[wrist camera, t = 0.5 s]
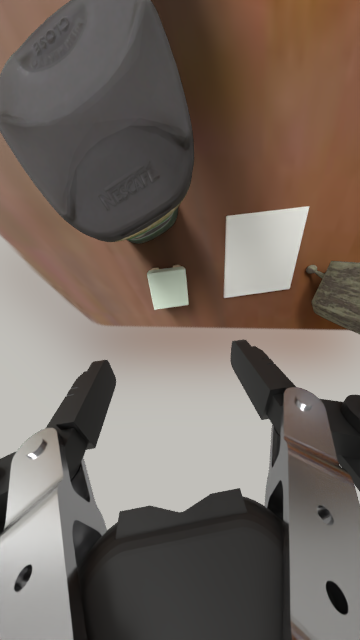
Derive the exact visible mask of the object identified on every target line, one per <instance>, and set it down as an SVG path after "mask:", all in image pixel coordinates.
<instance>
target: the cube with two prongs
mask: <svg viewBox="0 0 360 640" xmlns="http://www.w3.org/2000/svg"><path fill="white" fill-rule="evenodd" d="M147 277H148V282H149V286H150V291H151V296H152V301H153V306H154V310H156V309H163V308H170V307H177V306H184V305H189V303H188V292H187V280H186V269H185V268H184V267H183V266H180V265H173V268H165V269H159V267H158V268H152V269H151V270H150V271H148V273H147Z"/></svg>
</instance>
